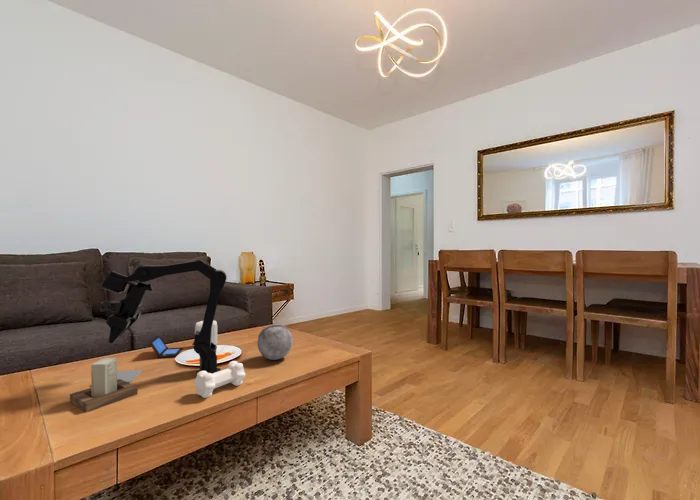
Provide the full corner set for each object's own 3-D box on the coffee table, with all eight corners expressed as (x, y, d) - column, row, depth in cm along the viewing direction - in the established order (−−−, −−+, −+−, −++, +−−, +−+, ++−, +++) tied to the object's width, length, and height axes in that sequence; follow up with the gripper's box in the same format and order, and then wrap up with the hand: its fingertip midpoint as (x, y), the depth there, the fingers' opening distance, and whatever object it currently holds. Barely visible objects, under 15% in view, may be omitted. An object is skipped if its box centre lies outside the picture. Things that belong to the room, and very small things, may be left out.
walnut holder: (137, 394, 111) (137, 386, 111) (86, 412, 99) (86, 403, 99) (119, 386, 117) (119, 378, 117) (69, 402, 105) (69, 394, 105)
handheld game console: (176, 358, 147) (176, 341, 146) (148, 360, 144) (148, 342, 144) (183, 349, 159) (183, 333, 159) (158, 350, 156) (158, 335, 156)
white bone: (206, 402, 106) (207, 378, 106) (192, 393, 111) (193, 369, 111) (246, 386, 118) (247, 364, 118) (231, 378, 123) (232, 357, 123)
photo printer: (216, 342, 168) (216, 318, 168) (218, 345, 165) (218, 319, 165) (193, 346, 163) (193, 320, 162) (195, 348, 159) (195, 322, 159)
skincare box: (103, 394, 111) (103, 357, 111) (118, 393, 111) (117, 357, 111) (90, 403, 105) (90, 364, 104) (105, 402, 105) (105, 363, 105)
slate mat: (142, 370, 131) (142, 369, 131) (129, 383, 119) (129, 381, 119) (107, 373, 128) (107, 371, 128) (90, 386, 117) (90, 384, 117)
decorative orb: (290, 352, 154) (290, 319, 154) (295, 362, 140) (295, 327, 140) (256, 355, 149) (256, 321, 149) (258, 366, 136) (258, 329, 135)
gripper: (118, 287, 129) (99, 326, 127) (99, 294, 111) (78, 339, 109) (148, 297, 132) (131, 335, 130) (135, 305, 114) (115, 349, 113)
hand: (114, 339), depth 121 cm, fingers open, 9 cm apart
